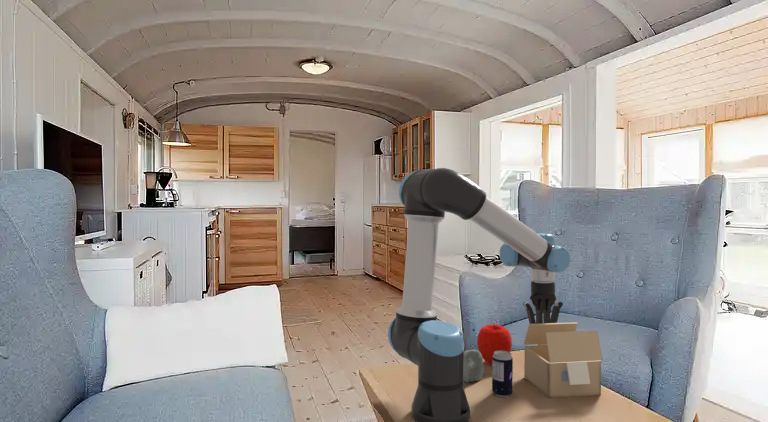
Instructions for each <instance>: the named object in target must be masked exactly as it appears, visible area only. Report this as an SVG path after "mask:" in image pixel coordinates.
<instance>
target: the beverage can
mask: <svg viewBox="0 0 768 422" xmlns="http://www.w3.org/2000/svg"><path fill="white" fill-rule="evenodd" d="M513 359H514V358H513V356H512V353H511V351H510V352H507V351H495V352H494V355H493V356H492V366H491V368H492V369H491V370H492V371H491V380H492V381H491V391H492V393H493V394H494V395H495V396H496V397H499V398H509V397H510V395H512V394H513V373H514V372H513V370H514V369H513V368H514V367H513V365H514V364H513V363H514V362H513V361H514V360H513Z"/></svg>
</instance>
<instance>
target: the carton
mask: <svg viewBox="0 0 768 422" xmlns="http://www.w3.org/2000/svg"><path fill="white" fill-rule="evenodd" d="M574 362H587V366H588V372H589V378H590V384H577V385H569V379H568V372H567V366H566V363H574ZM523 366H524V375H523V377H524V378H525V379H526V380H527V381H528V382H529V383H530V384H531V385H533V386H534V387H535V388H536V389H537V390H538V391H539V392H541V393H542V394H543V395H544V396H545V397H547V398H548V399H553V398H569V397H570V398H571V397H586V396H588V397H589V396H601V395H602V392H601V391H602V390H601V389H602V360H593V361H572V362H549V355H548V348H547V346H538V345H529V346H528V345H525V346H524V365H523Z"/></svg>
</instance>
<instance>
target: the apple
mask: <svg viewBox="0 0 768 422" xmlns="http://www.w3.org/2000/svg"><path fill="white" fill-rule="evenodd" d="M476 338H477V340H476V344H477V345H476V346H477V350H478V351H479V352H480V353H481V355H482V358H483V361H485V364H487V365H489V366H491V367H492V356H493V355H494V352H495V351H507V352H510V353H511V350H512V345H513V344H512V341H513V340H512V335H511V333H510V330H509V329H508V328H506V327H504V326H503V325H499V324H486V325H484V326H482V327H481V328H480V330H479V332H478V334H477V337H476Z"/></svg>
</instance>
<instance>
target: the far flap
mask: <svg viewBox="0 0 768 422" xmlns="http://www.w3.org/2000/svg"><path fill="white" fill-rule="evenodd" d="M578 325H579V324H578V322H576V321H575V322H573V321H572V322H557V323H541V324H530V323H529V324H528V328H527V329H526V335H525V338H524V341H523V345H525V346H528V345H537V346H547V342H546V335H545V333H546V332H572V331H576V330H577V327H578Z"/></svg>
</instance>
